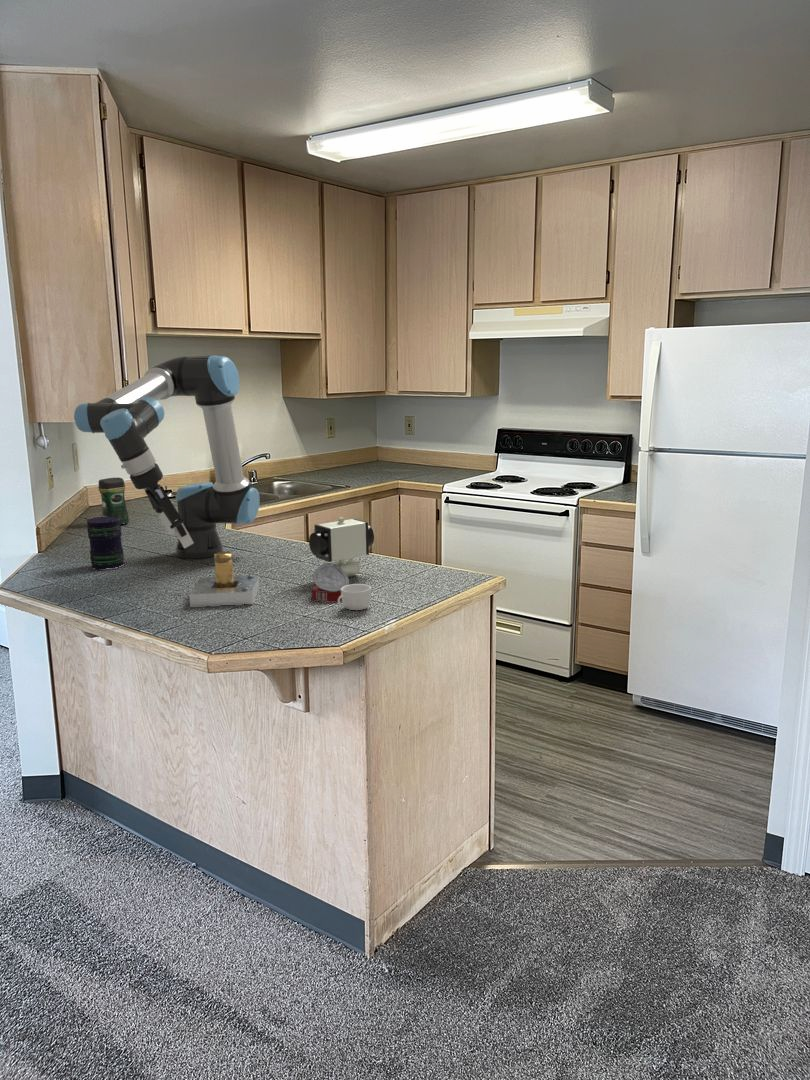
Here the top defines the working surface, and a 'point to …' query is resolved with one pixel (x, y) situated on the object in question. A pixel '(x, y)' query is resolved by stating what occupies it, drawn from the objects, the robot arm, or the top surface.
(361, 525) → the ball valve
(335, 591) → the canned food
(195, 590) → the jig
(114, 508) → the coffee jar
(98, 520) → the storage jar
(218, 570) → the gold metal cylinder
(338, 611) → the top surface
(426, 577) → the top surface
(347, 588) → the teacup
